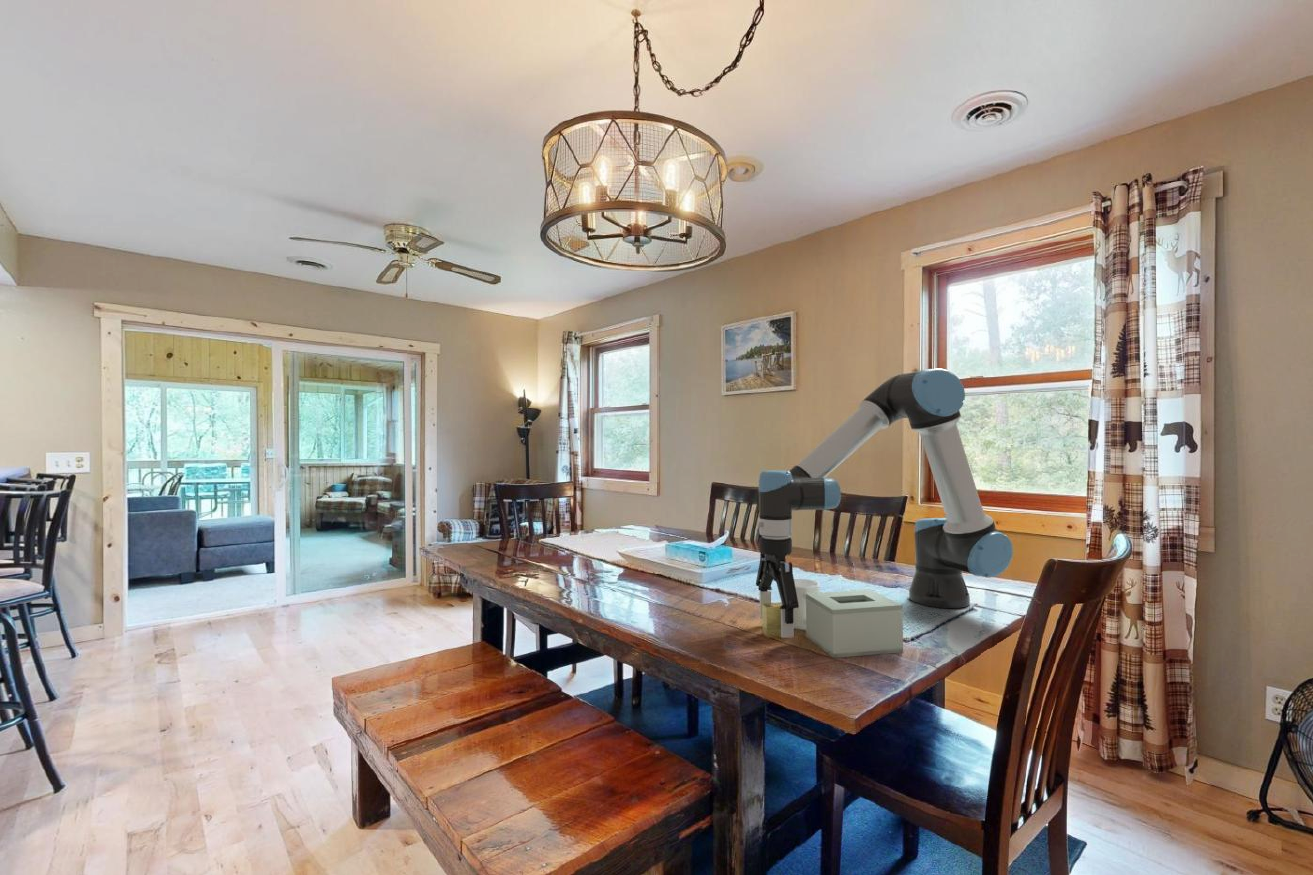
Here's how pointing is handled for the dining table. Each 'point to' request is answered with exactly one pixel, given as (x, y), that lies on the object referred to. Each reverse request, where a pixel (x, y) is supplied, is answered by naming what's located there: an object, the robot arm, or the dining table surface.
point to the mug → (803, 600)
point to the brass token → (771, 619)
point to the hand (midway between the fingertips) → (775, 627)
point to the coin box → (854, 623)
